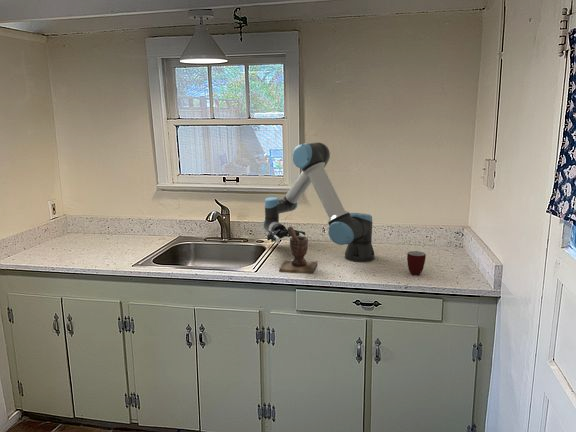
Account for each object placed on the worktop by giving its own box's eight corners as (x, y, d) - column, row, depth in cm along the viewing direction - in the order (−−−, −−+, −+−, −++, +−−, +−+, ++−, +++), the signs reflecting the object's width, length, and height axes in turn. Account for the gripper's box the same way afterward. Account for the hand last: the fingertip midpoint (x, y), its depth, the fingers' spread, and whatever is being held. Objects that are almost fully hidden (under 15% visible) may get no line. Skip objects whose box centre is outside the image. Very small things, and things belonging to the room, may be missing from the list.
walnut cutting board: (316, 264, 235) (317, 262, 234) (313, 273, 221) (313, 271, 221) (285, 262, 238) (284, 260, 237) (279, 271, 224) (279, 269, 224)
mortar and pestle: (302, 270, 222) (302, 228, 218) (285, 268, 225) (285, 226, 221) (310, 262, 233) (310, 222, 229) (293, 261, 236) (293, 221, 232)
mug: (404, 269, 226) (405, 249, 224) (421, 270, 226) (422, 249, 224) (407, 277, 216) (409, 255, 214) (426, 277, 216) (427, 256, 214)
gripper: (299, 234, 259) (315, 244, 240) (255, 239, 251) (267, 249, 231) (299, 221, 258) (315, 230, 238) (255, 225, 249) (267, 234, 230)
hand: (292, 239), depth 235 cm, fingers open, 13 cm apart
